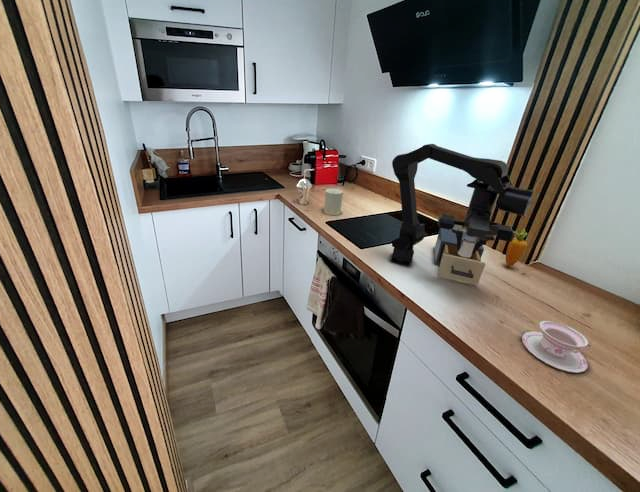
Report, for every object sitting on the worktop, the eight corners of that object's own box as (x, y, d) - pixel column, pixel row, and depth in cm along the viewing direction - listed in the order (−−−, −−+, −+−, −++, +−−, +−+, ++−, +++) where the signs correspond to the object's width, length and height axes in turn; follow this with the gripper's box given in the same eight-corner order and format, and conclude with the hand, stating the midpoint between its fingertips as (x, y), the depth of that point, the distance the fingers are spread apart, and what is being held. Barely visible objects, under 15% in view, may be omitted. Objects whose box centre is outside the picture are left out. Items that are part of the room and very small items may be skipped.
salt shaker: (458, 255, 88) (463, 240, 86) (457, 250, 91) (462, 235, 89) (471, 258, 87) (477, 242, 84) (470, 253, 90) (475, 238, 87)
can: (321, 213, 147) (323, 191, 142) (324, 207, 155) (326, 186, 151) (339, 216, 145) (342, 193, 140) (341, 210, 153) (344, 188, 148)
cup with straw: (302, 199, 167) (304, 165, 159) (314, 203, 162) (317, 168, 153) (292, 202, 162) (294, 167, 154) (304, 206, 156) (307, 170, 148)
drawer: (479, 291, 89) (487, 270, 85) (437, 281, 93) (444, 260, 90) (472, 266, 102) (479, 246, 99) (437, 258, 107) (442, 239, 104)
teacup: (523, 356, 67) (533, 337, 65) (519, 326, 77) (527, 308, 74) (593, 383, 61) (607, 363, 59) (579, 347, 71) (591, 328, 68)
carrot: (510, 271, 101) (525, 234, 95) (496, 264, 106) (511, 228, 100) (520, 270, 103) (536, 232, 97) (506, 262, 107) (521, 226, 101)
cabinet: (475, 273, 100) (484, 249, 96) (434, 264, 105) (441, 240, 101) (470, 255, 111) (478, 233, 107) (434, 248, 116) (440, 226, 112)
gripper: (445, 207, 79) (431, 255, 86) (528, 221, 72) (506, 273, 78) (444, 196, 88) (432, 240, 95) (518, 207, 81) (499, 255, 87)
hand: (465, 251), depth 88 cm, fingers closed on salt shaker, 3 cm apart
